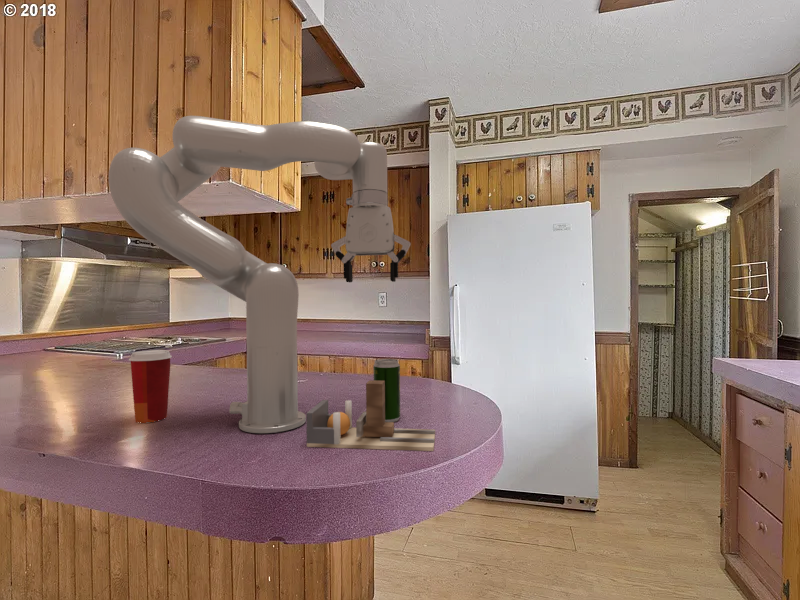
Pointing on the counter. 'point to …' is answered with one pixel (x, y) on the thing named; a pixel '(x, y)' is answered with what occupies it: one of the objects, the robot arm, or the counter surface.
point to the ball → (343, 423)
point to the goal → (325, 424)
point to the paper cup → (150, 384)
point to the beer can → (389, 386)
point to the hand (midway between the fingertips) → (371, 281)
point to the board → (387, 440)
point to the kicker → (374, 413)
